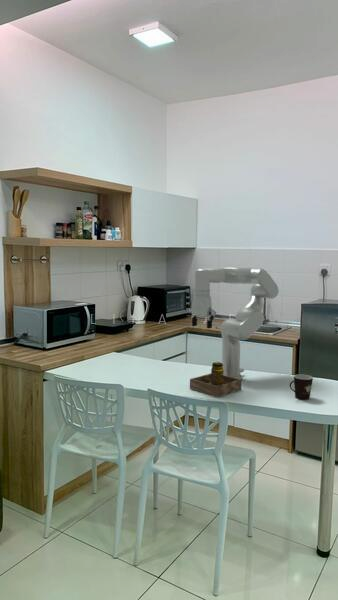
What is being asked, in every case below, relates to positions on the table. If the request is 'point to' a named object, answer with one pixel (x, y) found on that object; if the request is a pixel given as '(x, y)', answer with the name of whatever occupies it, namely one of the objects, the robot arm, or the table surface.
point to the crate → (206, 387)
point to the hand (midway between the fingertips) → (201, 326)
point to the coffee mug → (302, 386)
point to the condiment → (217, 374)
